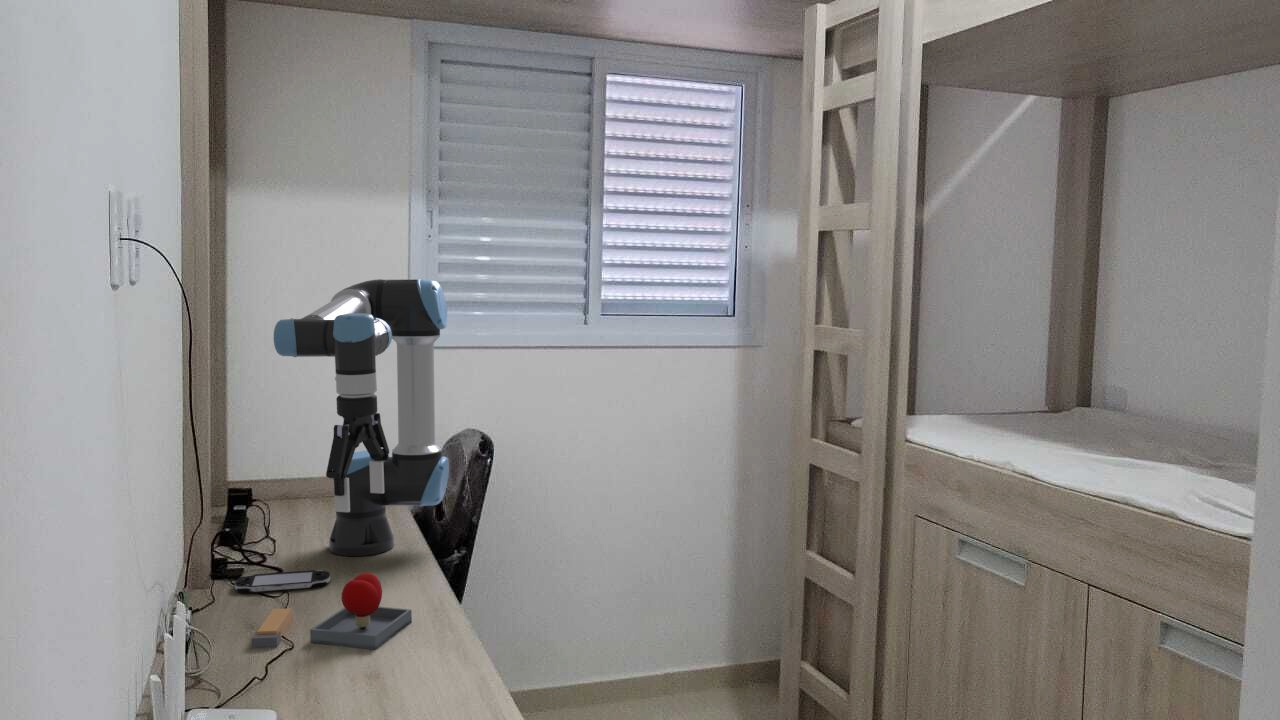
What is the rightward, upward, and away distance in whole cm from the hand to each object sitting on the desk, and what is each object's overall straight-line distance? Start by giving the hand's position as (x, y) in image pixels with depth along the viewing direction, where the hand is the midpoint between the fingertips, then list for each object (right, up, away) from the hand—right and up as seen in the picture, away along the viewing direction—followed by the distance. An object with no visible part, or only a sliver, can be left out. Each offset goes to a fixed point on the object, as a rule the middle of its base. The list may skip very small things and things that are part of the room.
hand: (360, 502), depth 201 cm
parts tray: (+2, -24, -6) cm, 25 cm away
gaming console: (-22, -21, +21) cm, 37 cm away
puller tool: (-14, -24, -6) cm, 29 cm away
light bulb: (+2, -23, -6) cm, 24 cm away
